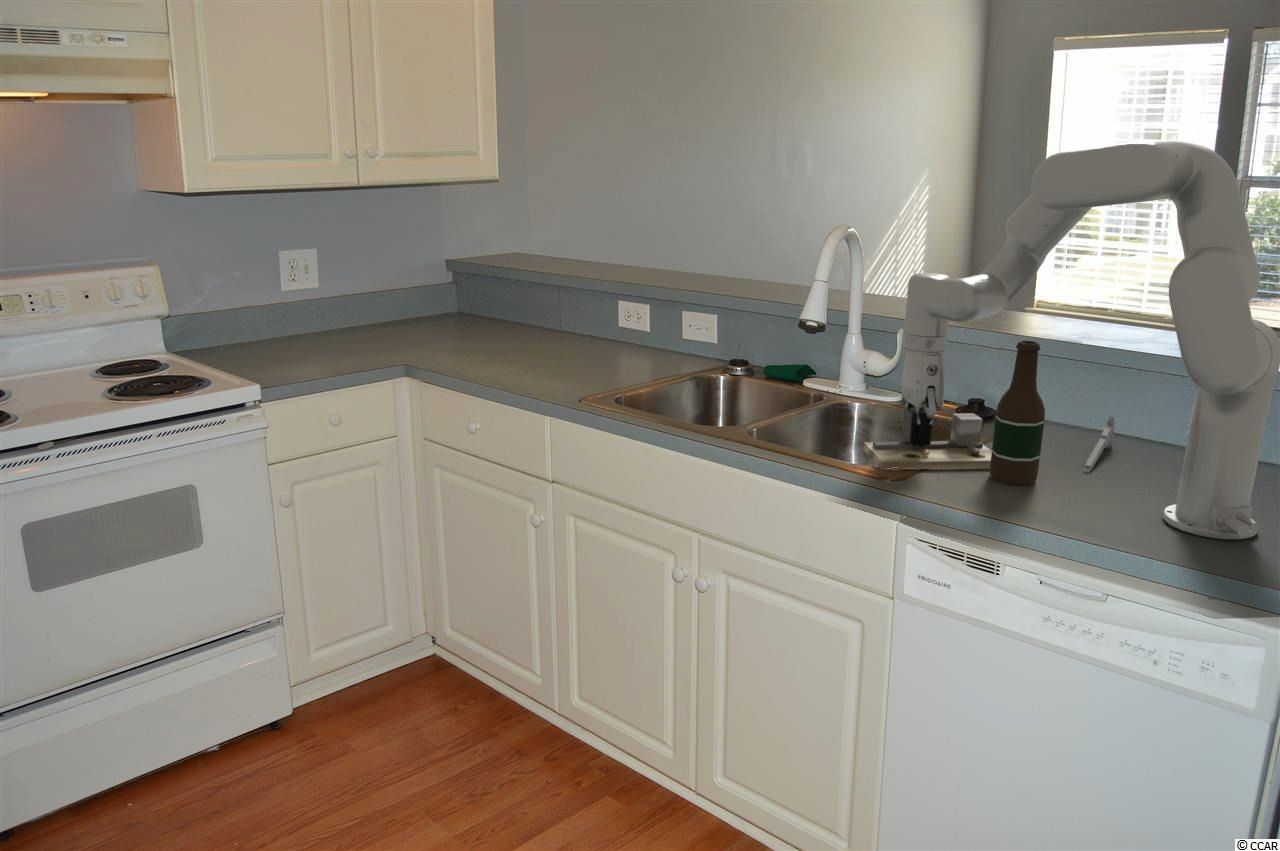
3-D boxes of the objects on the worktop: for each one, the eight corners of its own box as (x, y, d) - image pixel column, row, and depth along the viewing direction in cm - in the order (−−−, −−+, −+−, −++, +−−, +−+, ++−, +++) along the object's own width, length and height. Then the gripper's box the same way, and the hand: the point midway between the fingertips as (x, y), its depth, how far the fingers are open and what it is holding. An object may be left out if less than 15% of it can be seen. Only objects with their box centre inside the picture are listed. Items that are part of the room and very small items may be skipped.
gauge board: (1003, 468, 178) (1008, 429, 176) (882, 470, 176) (885, 430, 174) (977, 448, 189) (981, 411, 187) (863, 449, 188) (865, 412, 186)
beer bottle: (992, 469, 177) (1006, 336, 171) (1038, 476, 174) (1055, 340, 167) (985, 482, 170) (1001, 344, 164) (1034, 489, 167) (1052, 348, 161)
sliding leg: (938, 455, 179) (941, 418, 177) (916, 455, 179) (919, 419, 177) (922, 442, 186) (925, 407, 185) (901, 442, 186) (904, 407, 184)
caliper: (1105, 446, 192) (1110, 414, 191) (1111, 447, 192) (1116, 415, 190) (1082, 474, 176) (1086, 439, 174) (1088, 475, 176) (1093, 440, 174)
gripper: (963, 352, 171) (952, 454, 176) (929, 334, 187) (920, 428, 192) (920, 353, 171) (911, 455, 176) (889, 334, 187) (882, 428, 192)
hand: (916, 439), depth 184 cm, fingers closed on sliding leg, 4 cm apart
